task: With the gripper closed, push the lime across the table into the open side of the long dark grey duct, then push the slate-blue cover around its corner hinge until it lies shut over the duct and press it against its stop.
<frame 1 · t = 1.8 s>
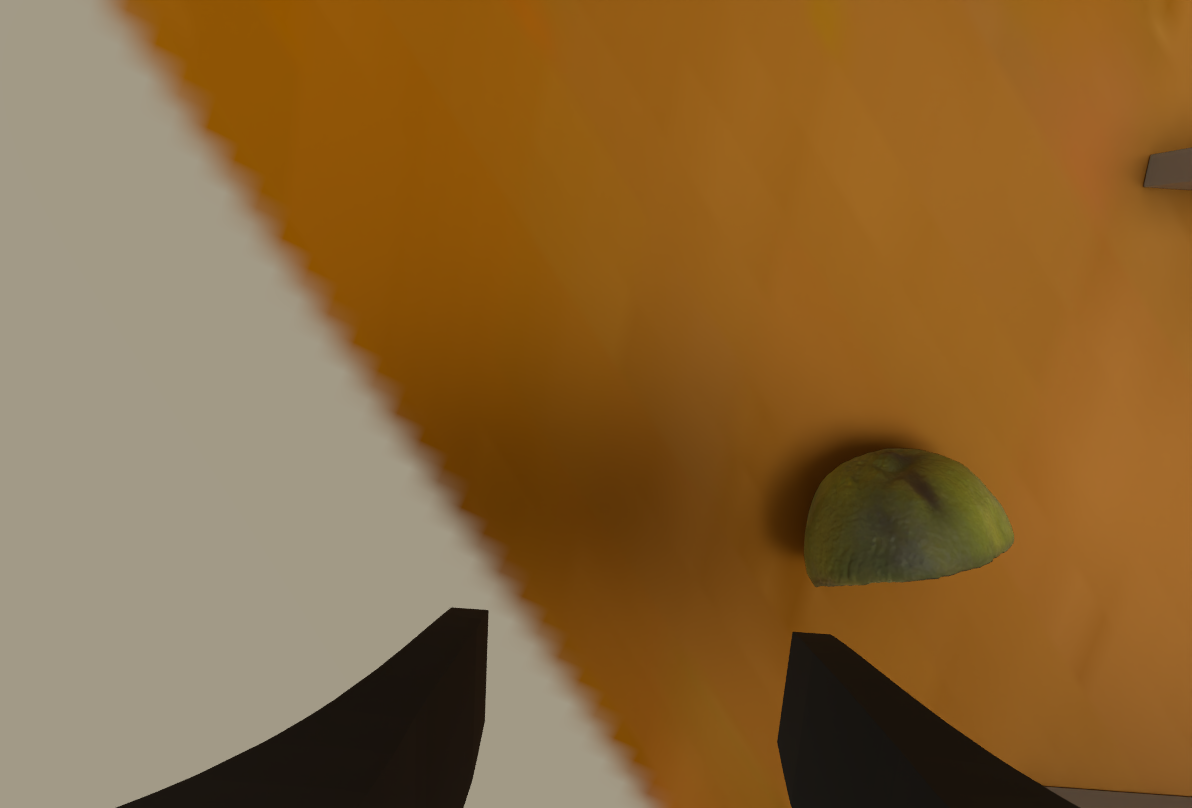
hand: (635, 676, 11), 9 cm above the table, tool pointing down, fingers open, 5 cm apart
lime: (860, 497, 21), on the table
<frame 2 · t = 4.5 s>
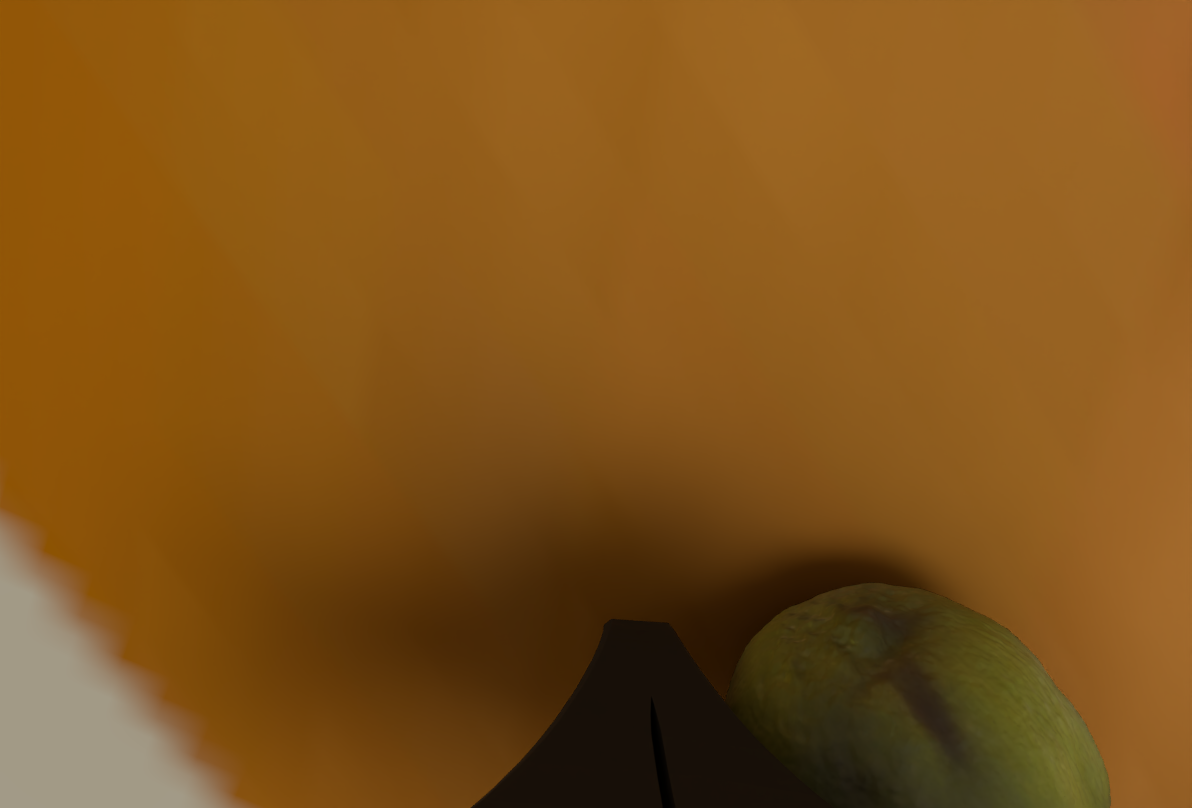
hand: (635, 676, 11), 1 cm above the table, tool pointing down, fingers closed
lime: (824, 644, 12), on the table, touching gripper
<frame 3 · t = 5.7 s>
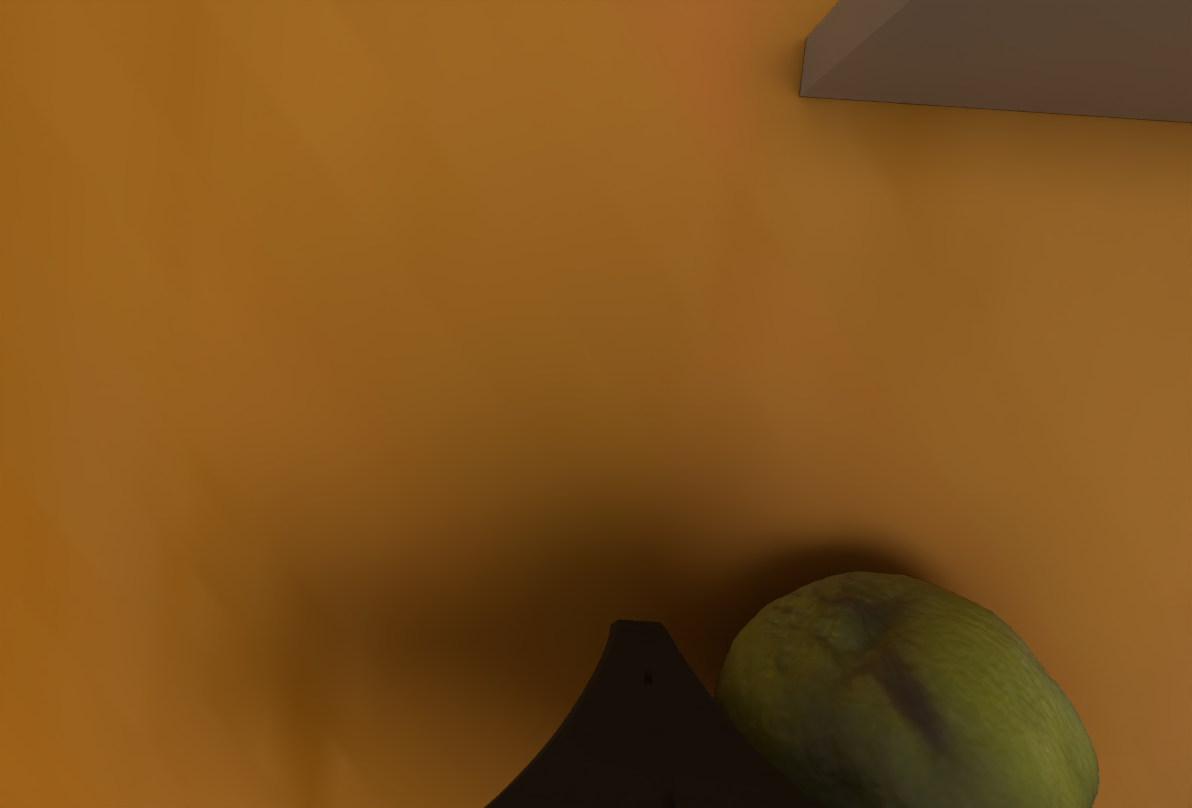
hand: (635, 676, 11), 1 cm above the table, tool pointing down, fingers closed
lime: (814, 633, 12), on the table, touching gripper
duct: (1015, 674, 12), on the table
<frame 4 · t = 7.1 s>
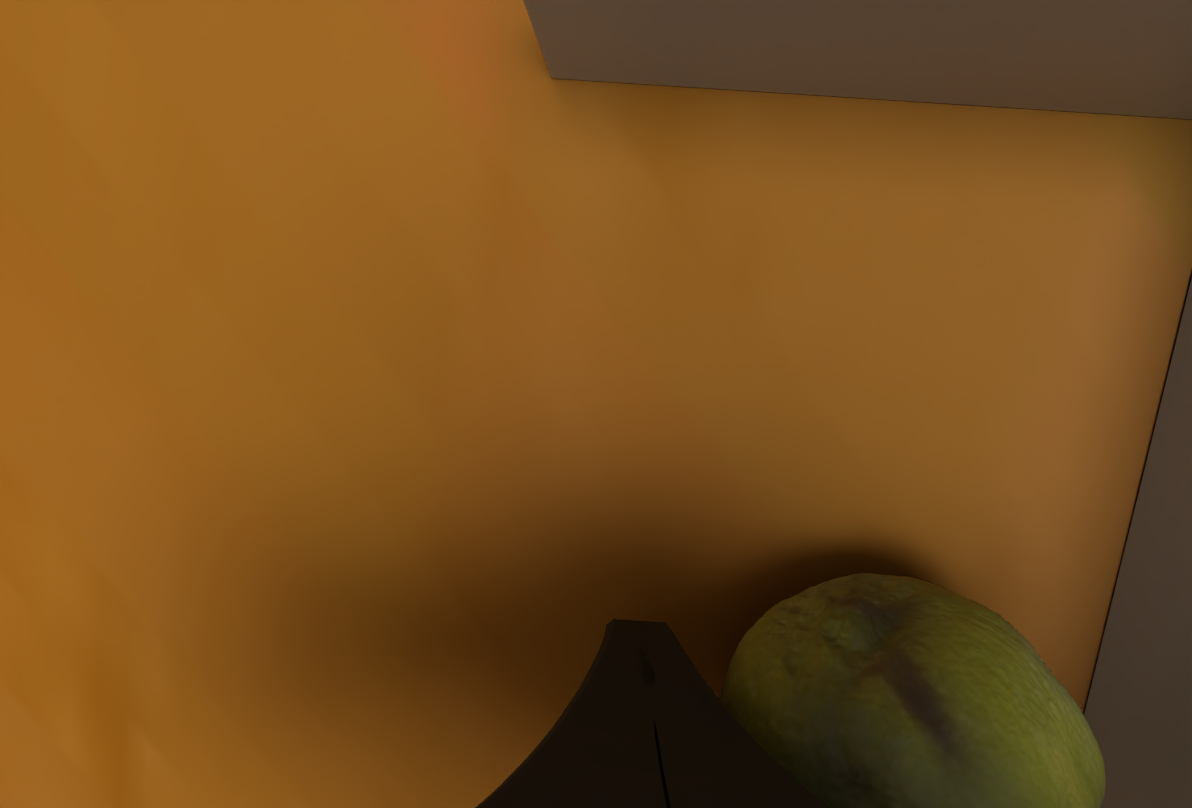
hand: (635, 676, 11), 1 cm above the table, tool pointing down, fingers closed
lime: (819, 635, 12), on the table, touching gripper
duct: (807, 658, 12), on the table
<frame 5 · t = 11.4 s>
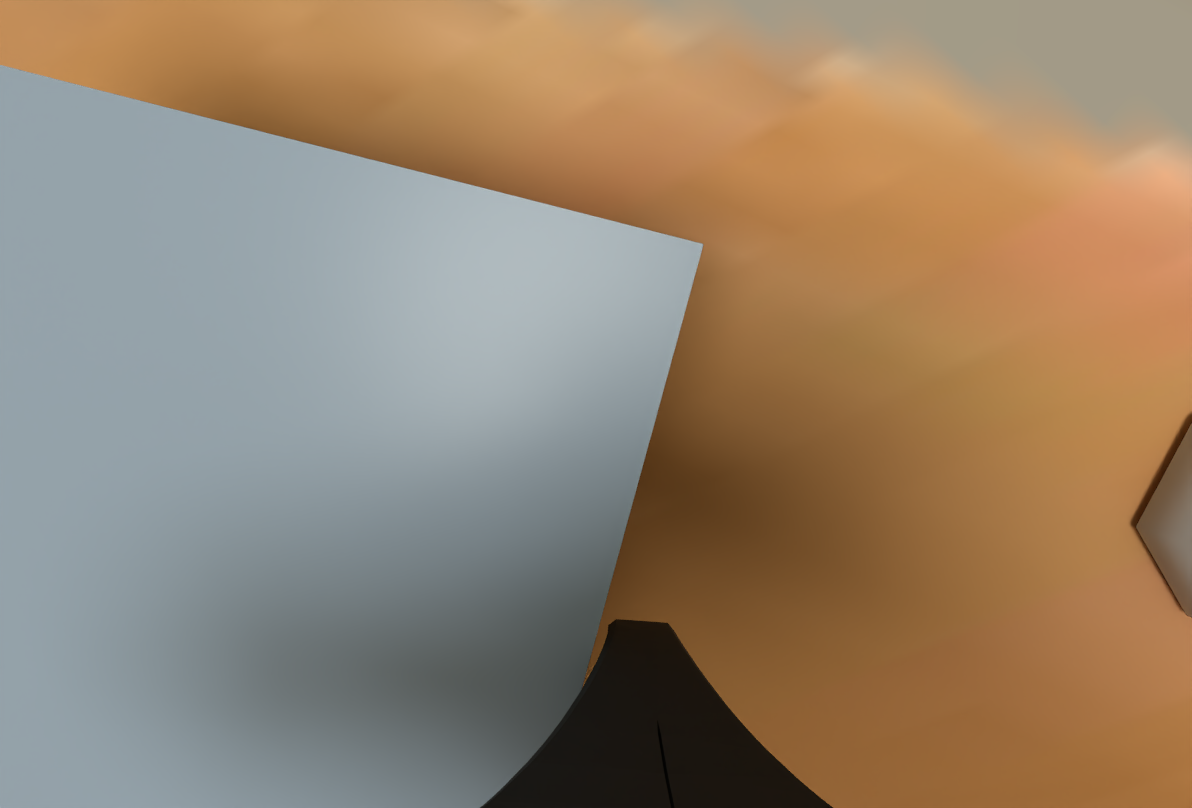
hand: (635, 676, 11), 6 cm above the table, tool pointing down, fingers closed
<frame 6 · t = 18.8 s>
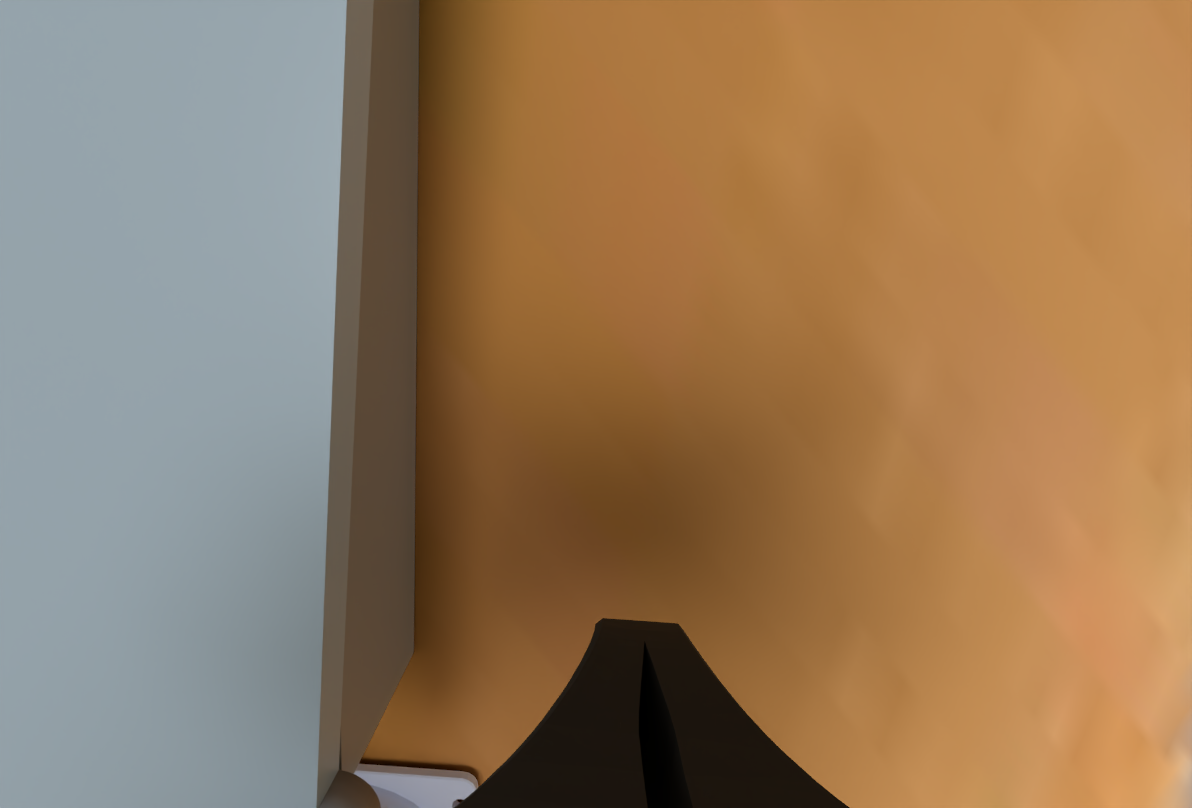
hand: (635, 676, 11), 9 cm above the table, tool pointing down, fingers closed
duct cover: (58, 373, 13), point 7 cm above the table, hinge at 3.2°
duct: (212, 321, 20), on the table
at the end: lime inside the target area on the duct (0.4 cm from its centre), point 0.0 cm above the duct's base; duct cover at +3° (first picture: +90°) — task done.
